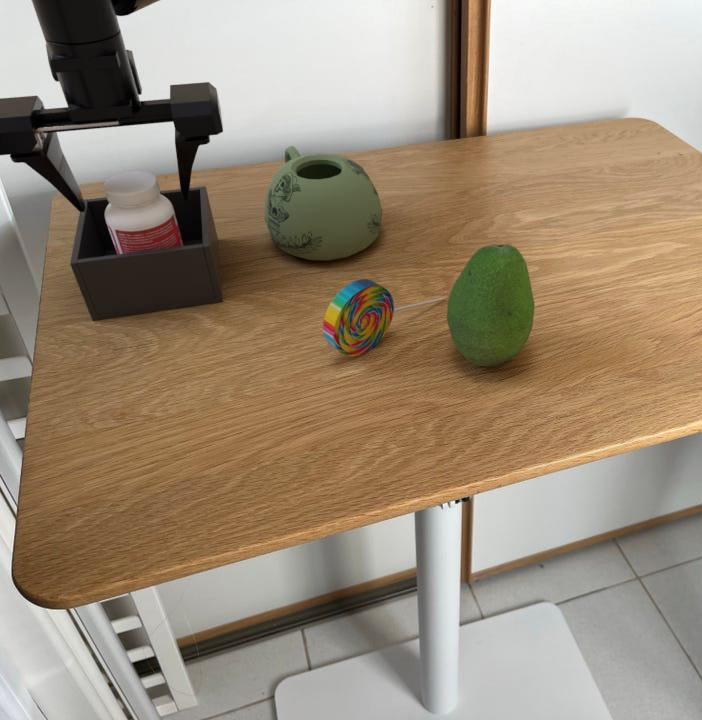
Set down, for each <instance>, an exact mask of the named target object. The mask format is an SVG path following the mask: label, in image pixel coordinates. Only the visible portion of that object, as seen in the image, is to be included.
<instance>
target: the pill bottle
mask: <svg viewBox="0 0 702 720" xmlns="http://www.w3.org/2000/svg"><path fill="white" fill-rule="evenodd" d="M103 191H104V193H105V197H106V198H107V200H108V202H109V203H110V204H109V205H108V206H107V208H106V210H105V220H106V224H107V226H108V229H109V232H110V235H111V238H112V240H113V243H114V246H115V249H116V252H117V254H125V253H133V252H141V251H149V250H157V249H165V248H173V247H181V246H184V245H183V241H182V238H181V234H180V231H179V227H178V223H177V220H176V216H175V212H174V209H173V206H172V204H171V202H170V201H169V200H168V199H167V198H166V197H165V196H163V195H161V194H160V191H161V187H160V184H159V181H158V178H157V176H156V175H154V174H153V173H151V172H147V171H137V170H136V171H128V172H127V171H126V172H123V173H119V174H116V175H113V176H111V177H110V178H108V179H107V180H106V181H105V182H104V184H103Z"/></svg>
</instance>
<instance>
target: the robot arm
mask: <svg viewBox="0 0 702 720" xmlns="http://www.w3.org/2000/svg"><path fill="white" fill-rule="evenodd" d="M159 1H161V0H31V3H32V6H33V9H34V11H35V14H36V17H37V20H38V23H39V26H40V30H41V31H42V36H43V38H44V40H45V49H46V54H47V61H48V65H49V68H50V69H49V70H50V73H51V75H52V78H53V80H54V81H55V82H58V83H59V84H60V87H61V90H62V93H63V96H64V100H65V103H66V105H67V106H65V107H53V108H52V107H51V108H45V105H44V102H43V101H42V99H41V98H40V97H39V96H38V95H27V96H26V95H25V96H15V97H14V96H13V97H2V98H1V97H0V156H9V157H10V160H11V161H12V162H13V163H16V164H22V163H23V164H25V165H27V166H28V167H30V169H32V170H33V171H35V173H37V174H38V175H39V176H41V177H42V178H43V179H45V180H46V181H47V182H48V183H50V185H52V187H54V188H55V189H56V190H57V191H58V193H60V194H61V195H62V196H63V197H64V199H66V200H67V201H68V202H69V203H70V204H71V205H72V206H73V207H74V208H75V209H76V210H77V211H78V212H79V213H80V212H84V211H85V203H84V197H83V193H82V191H81V189H80V186H79V184H78V182H77V180H76V178H75V176H74V173H73V171H72V169H71V167H70V165H69V163H68V161H67V158H66V156H65V154H64V152H63V150H62V147H61V143H60V140H59V136H58V133H61V132H73V131H74V132H75V131H84V130H86V131H87V130H95V129H97V130H98V129H107V128H116V127H117V128H118V127H129V126H140V125H153V124H161V123H173V125H174V146H175V154H176V155H175V156H176V163H177V171H178V172H177V173H178V179H179V189H181V192H182V196H183V199H184V200H188V198H189V189H190V188H191V181H192V180H191V179H192V172H193V166H194V163H195V159H196V157H197V153H198V150H199V147H200V146H205V145H208V144H209V143H210V142H211V137H210V136H218V135H220V134H221V133H223V132H224V127H223V116H222V108H221V103H220V99H219V93H218V89H217V88H216V87H215V86H214V85H213V84H212V83H211V82H209V81H206V82H205V81H204V82H194V83H193V82H192V83H180V84H170V85H169V98H161V99H149V100H140V95H142V94H143V93H142V92H143V88H142V84H141V81H140V76H139V74H138V69H137V67H136V62H135V59H134V58H135V57H134V54H133V50H131V49H126V46H125V45H126V44H125V42H124V37H123V34H122V30H121V28H120V24H119V21H118V17H126V16H130V15H131V14H134V13H136V12H138V11H140V10H143V9H145V8H147V7H149V6H151V5H153V4H155V3H158V2H159Z"/></svg>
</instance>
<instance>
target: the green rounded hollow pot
mask: <svg viewBox="0 0 702 720" xmlns="http://www.w3.org/2000/svg"><path fill="white" fill-rule="evenodd" d="M382 217H383V208H382V203H381V200H380V195H379V193H378V191H377V189H376V186H375V185H374V182H373V181H372V180H371V178H370V176H369V175H368V173H367V172H366V170H365V168H364V167H363V166H361V165H360V164H358V163H357V162H356V161H354V160H353V159H351V158H349V157H347V156H344V155H341V154H340V155H339V154H336V153H322V152H321V153H310V154H304V155H301V154H300V152H299V151H298V149H297V148H296V147H295V146H293V145H290V146H288V147H286V148H285V149H284V163H283V165H281V166H280V167H279V168H278V169H277V170H276V171H275V172H274V175H273V177H272V179H271V182H270V184H269V186H268V188H267V192H266V196H265V199H264V221H265V224H266V226H267V229H268V232H269V234H270V236H271V239H272V242H273V244H274V245H275V246H276V247H278V248H279V249H281V250H282V251H283V252H285V253H286V254H287V255H291V256H293V257H297V258H300V259H304V260H307V261H319V262H321V261H322V262H324V261H325V262H329V261H335V260H340V259H345V258H348V257H351V256H353V255H356V254H358V253H360V252H361V251H363V250H365V249H367V248H368V247H369V246H370V245H371V244H372V243H374V241H375V240H376V239H378V237H379V235H380V231H381V230H380V229H381V224H382Z"/></svg>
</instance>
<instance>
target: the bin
mask: <svg viewBox="0 0 702 720" xmlns="http://www.w3.org/2000/svg"><path fill="white" fill-rule="evenodd" d="M160 194H161V195H163V196H165V197H166V198H167V199H168V200H169V201H170V202H171V204H172V206H173V209H174V212H175V216H176V220H177V223H178V227H179V231H180V234H181V238H182V241H183V245H184V246H181V247H173V248H165V249H157V250H149V251H141V252H133V253H125V254H117V252H116V249H115V246H114V243H113V240H112V238H111V235H110V232H109V229H108V226H107V224H106V220H105V210H106V208H107V206H108V205H109V204H110V203H109V202H108V200H107V198H106V196H105V197H95V198H94V197H93V198H86V199H84V198H83V200H84V203H85V211H84V212H80V211H79V214H78V220H77V225H76V230H75V235H74V239H73V240H74V241H73V246H72V250H71V251H72V252H71V256H70V262H69V264H70V267H71V270H72V273H73V275H74V278H75V280H76V283H77V286H78V287H79V290H80V294H81V296H82V298H83V300H84V303H85V306H86V308H87V311H88V314H89V315H90V318H91V321H98V320H99V321H100V320H105V319H111V318H112V319H113V318H118V317H119V318H120V317H127V316H134V315H139V314H147V313H153V312H161V311H168V310H174V309H175V310H176V309H181V308H188V307H194V306H202V305H208V304H215V303H221V302H223V301H224V298H223V287H222V273H221V262H220V259H221V258H220V248H219V238H218V233H217V228H216V225H215V220H214V217H213V211H212V207H211V202H210V198H209V195H208V191H207V186H196V187H190V189H189V198H188V200H184V199H183V196H182V192H181V189H180V188H177V189H168V190H160Z"/></svg>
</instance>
